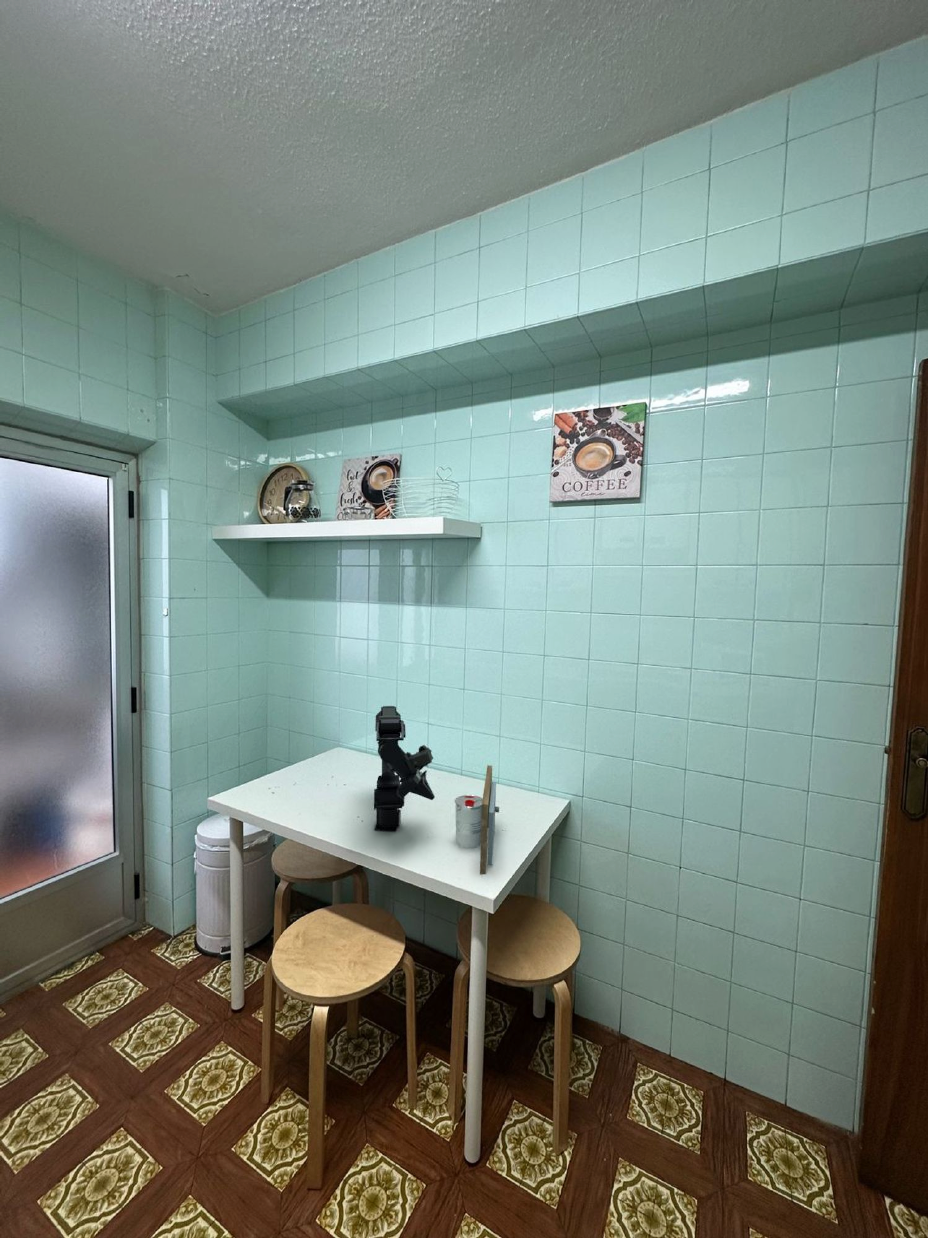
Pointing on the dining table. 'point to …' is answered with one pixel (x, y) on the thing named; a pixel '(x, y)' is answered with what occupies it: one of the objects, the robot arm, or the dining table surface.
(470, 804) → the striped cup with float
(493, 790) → the door
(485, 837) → the door frame
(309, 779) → the dining table surface
